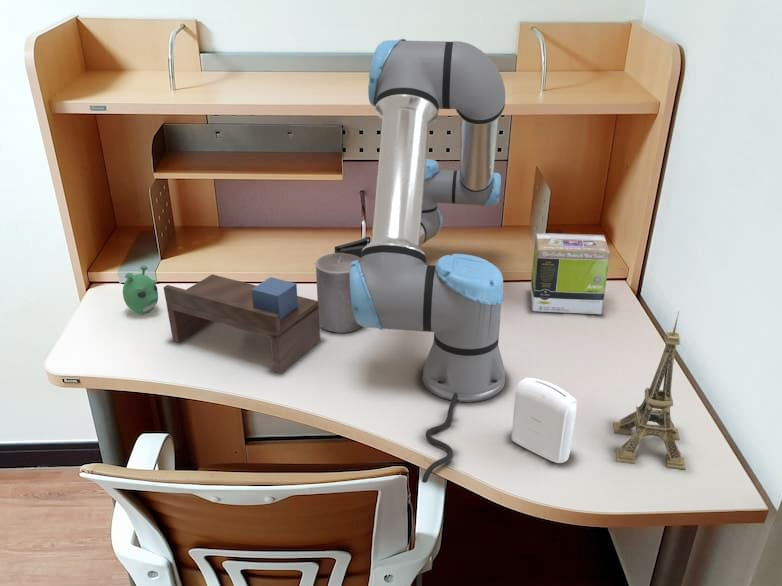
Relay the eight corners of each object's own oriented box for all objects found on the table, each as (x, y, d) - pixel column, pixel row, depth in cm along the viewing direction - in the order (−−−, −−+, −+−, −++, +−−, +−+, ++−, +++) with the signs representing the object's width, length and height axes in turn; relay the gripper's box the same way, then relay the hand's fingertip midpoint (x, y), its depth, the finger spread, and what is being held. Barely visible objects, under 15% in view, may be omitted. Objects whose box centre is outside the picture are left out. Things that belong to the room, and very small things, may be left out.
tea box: (596, 295, 171) (606, 233, 163) (601, 316, 163) (612, 252, 155) (529, 291, 172) (535, 230, 164) (530, 312, 164) (538, 248, 156)
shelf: (320, 340, 153) (317, 287, 146) (280, 373, 142) (275, 317, 136) (217, 312, 162) (210, 260, 156) (172, 341, 152) (163, 287, 145)
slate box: (298, 307, 146) (296, 283, 143) (280, 320, 141) (278, 296, 138) (272, 300, 148) (270, 277, 145) (253, 313, 143) (251, 289, 141)
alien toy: (145, 323, 158) (137, 279, 153) (119, 314, 161) (110, 271, 156) (170, 310, 163) (163, 267, 158) (144, 301, 166) (136, 259, 161)
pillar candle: (356, 308, 165) (354, 244, 157) (371, 329, 157) (370, 262, 149) (312, 316, 162) (308, 250, 154) (325, 337, 154) (322, 269, 146)
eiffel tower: (616, 461, 121) (644, 324, 108) (613, 423, 130) (639, 291, 117) (685, 469, 120) (722, 331, 106) (677, 430, 128) (710, 298, 115)
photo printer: (506, 440, 126) (512, 378, 119) (521, 429, 128) (528, 367, 122) (559, 468, 120) (569, 404, 113) (573, 456, 122) (584, 392, 116)
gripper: (451, 265, 173) (409, 302, 157) (356, 244, 183) (307, 278, 167) (452, 234, 169) (409, 269, 153) (355, 215, 179) (305, 246, 163)
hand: (356, 274), depth 160 cm, fingers open, 13 cm apart
